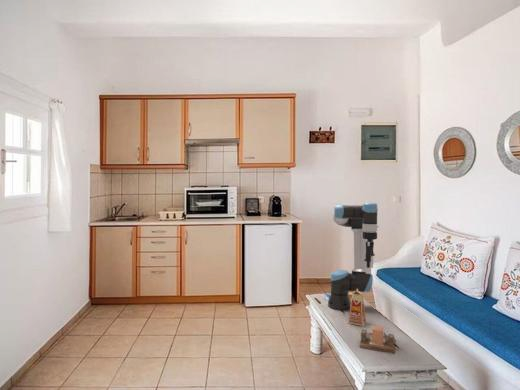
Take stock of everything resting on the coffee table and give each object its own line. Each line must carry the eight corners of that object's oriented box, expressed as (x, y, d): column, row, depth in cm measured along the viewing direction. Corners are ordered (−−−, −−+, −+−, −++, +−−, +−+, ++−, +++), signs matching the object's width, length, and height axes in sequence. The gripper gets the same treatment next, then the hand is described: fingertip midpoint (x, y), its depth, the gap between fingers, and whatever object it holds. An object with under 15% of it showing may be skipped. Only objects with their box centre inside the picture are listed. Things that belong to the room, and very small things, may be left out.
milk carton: (364, 326, 194) (364, 291, 193) (347, 323, 198) (347, 289, 197) (366, 320, 202) (366, 287, 201) (350, 317, 206) (350, 285, 205)
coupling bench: (362, 334, 183) (362, 323, 183) (394, 339, 177) (394, 328, 177) (359, 347, 168) (359, 335, 168) (393, 353, 162) (394, 341, 162)
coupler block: (372, 343, 169) (372, 329, 169) (372, 338, 174) (372, 325, 174) (382, 344, 167) (382, 331, 167) (383, 340, 172) (383, 327, 172)
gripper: (375, 235, 169) (375, 276, 170) (378, 229, 192) (378, 265, 193) (360, 234, 172) (359, 275, 173) (364, 228, 195) (364, 264, 196)
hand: (369, 270), depth 183 cm, fingers open, 13 cm apart
